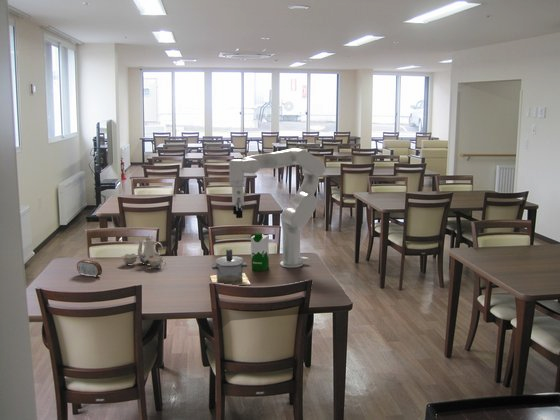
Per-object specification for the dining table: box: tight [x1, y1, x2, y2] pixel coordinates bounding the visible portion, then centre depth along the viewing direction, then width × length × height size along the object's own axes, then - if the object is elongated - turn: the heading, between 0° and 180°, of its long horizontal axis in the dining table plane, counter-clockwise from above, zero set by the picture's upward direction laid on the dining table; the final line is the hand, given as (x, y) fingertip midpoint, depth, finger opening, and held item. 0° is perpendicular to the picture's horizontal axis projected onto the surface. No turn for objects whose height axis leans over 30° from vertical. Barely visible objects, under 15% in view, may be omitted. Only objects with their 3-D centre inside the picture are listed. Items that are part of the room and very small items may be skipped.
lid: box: [215, 248, 245, 266], centre depth 290 cm, size 14×14×6 cm
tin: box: [76, 259, 103, 277], centre depth 302 cm, size 15×3×8 cm, turn 65°
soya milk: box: [250, 232, 270, 272], centre depth 311 cm, size 9×9×20 cm
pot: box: [209, 261, 251, 286], centre depth 291 cm, size 18×18×10 cm
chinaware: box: [121, 235, 167, 269], centre depth 321 cm, size 28×17×17 cm, turn 72°
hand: (237, 216), depth 301 cm, fingers open, 9 cm apart
